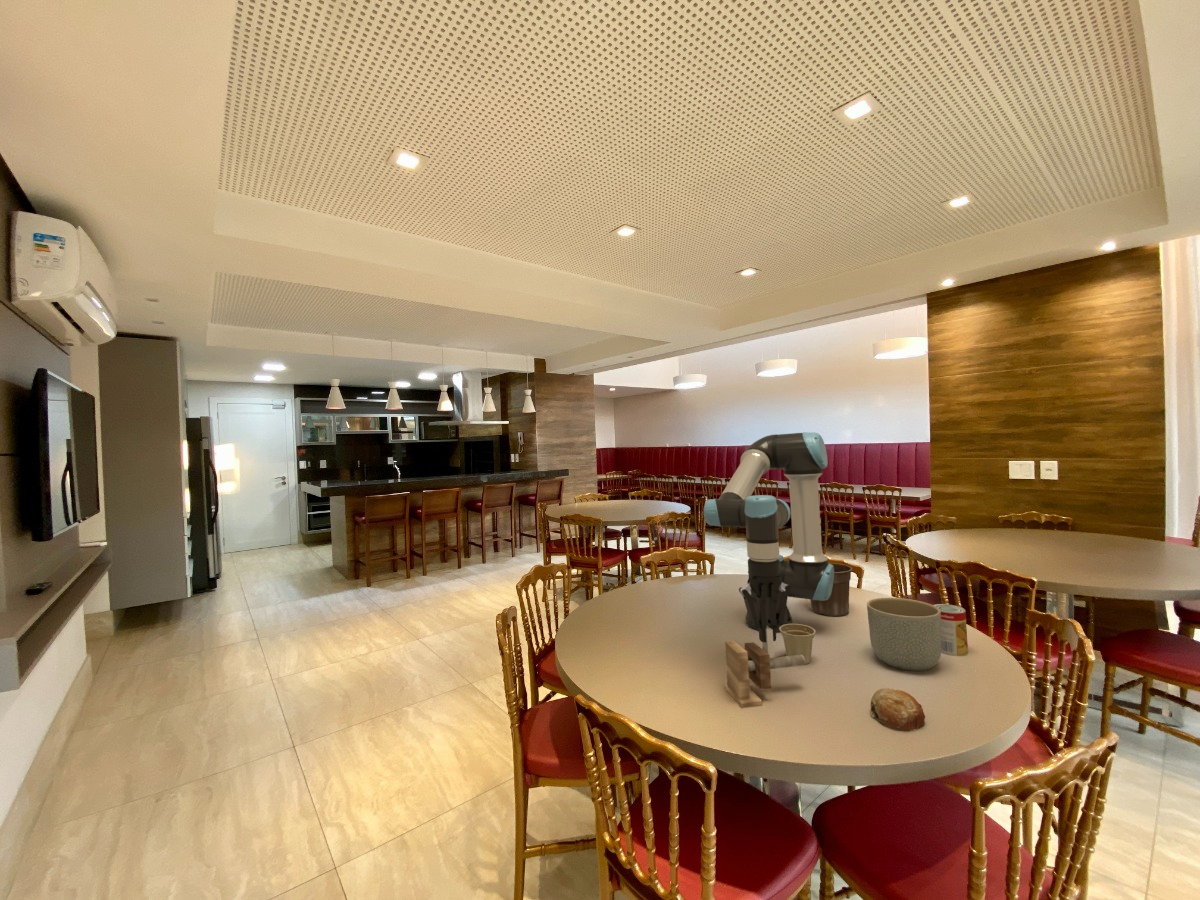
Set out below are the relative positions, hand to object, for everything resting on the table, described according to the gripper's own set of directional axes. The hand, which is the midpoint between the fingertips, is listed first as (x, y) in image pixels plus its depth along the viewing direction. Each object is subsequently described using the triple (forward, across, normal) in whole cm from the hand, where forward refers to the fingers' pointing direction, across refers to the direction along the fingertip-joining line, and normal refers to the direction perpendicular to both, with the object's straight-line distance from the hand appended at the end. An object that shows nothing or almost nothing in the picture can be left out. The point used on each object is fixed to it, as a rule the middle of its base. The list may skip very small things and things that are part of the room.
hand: (768, 654), depth 118 cm
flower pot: (+10, -16, -15) cm, 24 cm away
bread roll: (+10, -21, +17) cm, 28 cm away
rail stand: (+9, 0, 0) cm, 9 cm away
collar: (+6, +3, 0) cm, 7 cm away
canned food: (+10, -60, -10) cm, 62 cm away
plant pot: (+10, -49, -50) cm, 71 cm away
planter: (+10, -42, -6) cm, 44 cm away
